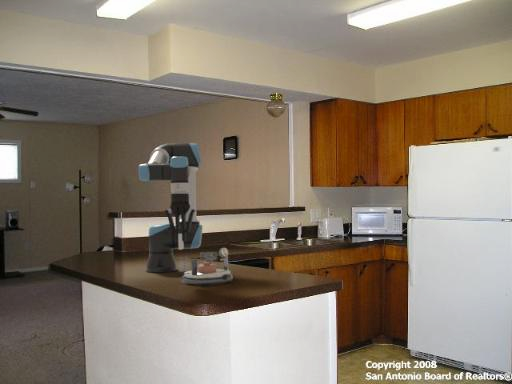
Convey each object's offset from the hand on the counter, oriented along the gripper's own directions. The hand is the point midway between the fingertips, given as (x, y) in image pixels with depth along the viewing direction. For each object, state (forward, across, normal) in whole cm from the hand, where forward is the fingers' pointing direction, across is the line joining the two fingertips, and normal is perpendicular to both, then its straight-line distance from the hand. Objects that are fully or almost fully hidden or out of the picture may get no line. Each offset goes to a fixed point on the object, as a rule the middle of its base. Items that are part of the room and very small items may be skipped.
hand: (181, 249), depth 215 cm
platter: (+12, +10, +7) cm, 17 cm away
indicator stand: (+15, +16, +19) cm, 29 cm away
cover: (+11, +9, +8) cm, 16 cm away
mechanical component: (+15, +6, +29) cm, 33 cm away
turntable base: (+15, +9, +7) cm, 19 cm away
